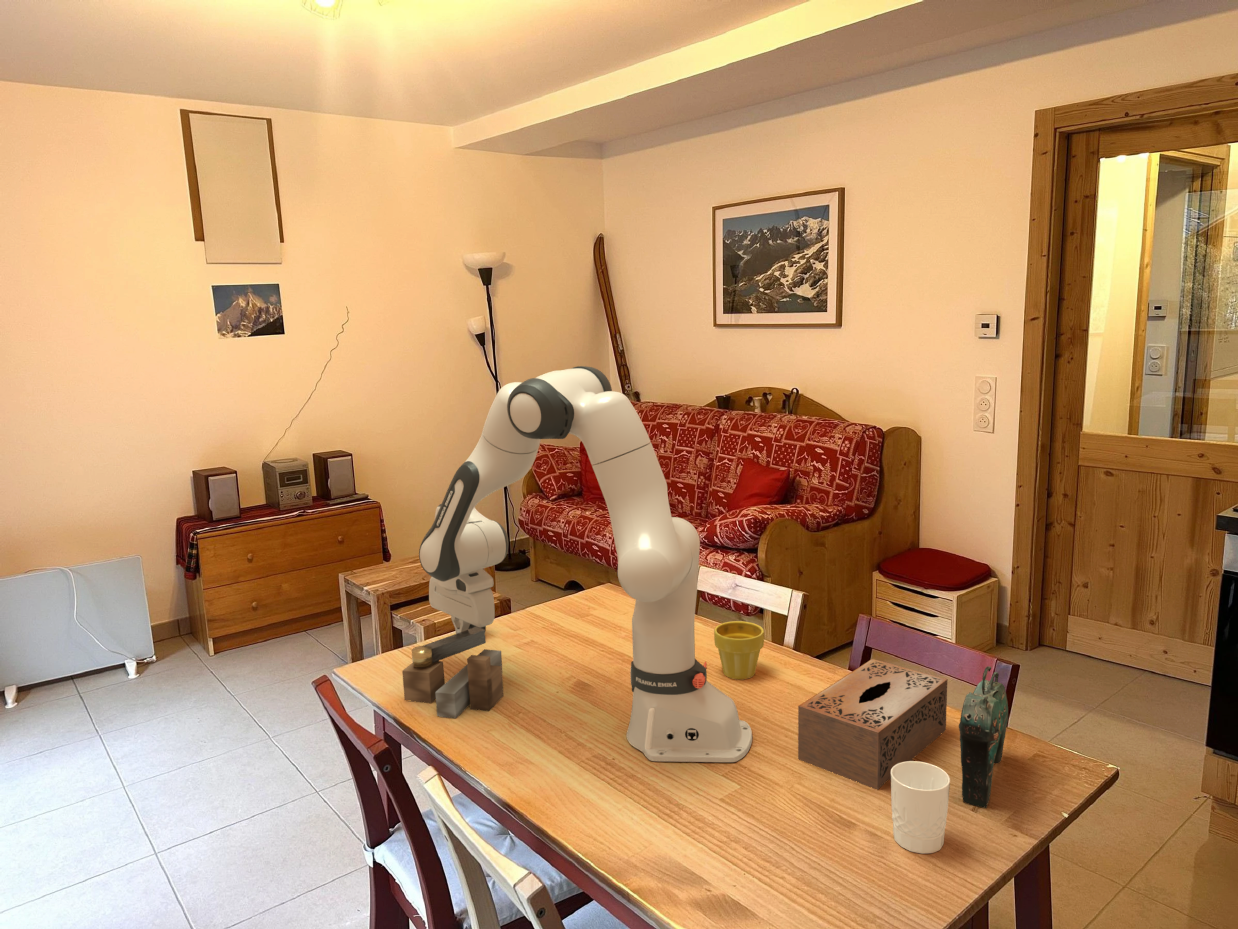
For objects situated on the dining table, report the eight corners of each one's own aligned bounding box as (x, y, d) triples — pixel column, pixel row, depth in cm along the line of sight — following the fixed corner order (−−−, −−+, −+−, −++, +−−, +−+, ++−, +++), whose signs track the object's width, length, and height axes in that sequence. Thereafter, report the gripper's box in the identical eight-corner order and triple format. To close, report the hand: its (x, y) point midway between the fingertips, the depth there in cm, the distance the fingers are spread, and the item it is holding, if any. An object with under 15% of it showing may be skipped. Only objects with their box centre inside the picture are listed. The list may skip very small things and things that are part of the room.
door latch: (523, 674, 182) (521, 628, 181) (479, 721, 162) (476, 669, 160) (444, 667, 188) (441, 622, 186) (391, 711, 167) (387, 661, 165)
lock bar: (420, 668, 170) (419, 654, 169) (408, 664, 172) (407, 650, 172) (487, 643, 182) (486, 630, 181) (475, 639, 185) (474, 626, 184)
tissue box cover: (877, 791, 134) (878, 732, 132) (798, 761, 144) (798, 706, 142) (945, 731, 152) (947, 679, 150) (871, 708, 162) (872, 658, 160)
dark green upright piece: (992, 816, 126) (997, 690, 122) (946, 804, 129) (950, 681, 126) (1012, 757, 142) (1018, 644, 139) (971, 748, 146) (976, 637, 142)
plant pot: (763, 684, 173) (763, 639, 172) (713, 682, 175) (712, 637, 174) (764, 664, 183) (764, 621, 182) (716, 662, 185) (715, 620, 184)
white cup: (934, 822, 125) (936, 759, 123) (957, 855, 117) (959, 789, 115) (881, 825, 125) (882, 762, 123) (900, 858, 117) (902, 792, 115)
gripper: (419, 567, 185) (424, 627, 188) (472, 587, 171) (476, 652, 173) (444, 561, 190) (448, 620, 192) (498, 580, 175) (501, 643, 178)
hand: (462, 635), depth 183 cm, fingers closed
